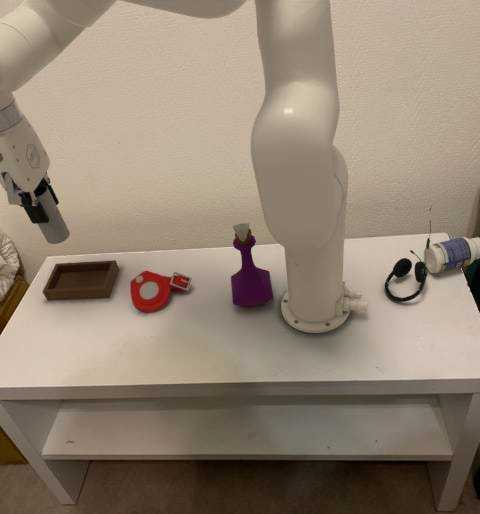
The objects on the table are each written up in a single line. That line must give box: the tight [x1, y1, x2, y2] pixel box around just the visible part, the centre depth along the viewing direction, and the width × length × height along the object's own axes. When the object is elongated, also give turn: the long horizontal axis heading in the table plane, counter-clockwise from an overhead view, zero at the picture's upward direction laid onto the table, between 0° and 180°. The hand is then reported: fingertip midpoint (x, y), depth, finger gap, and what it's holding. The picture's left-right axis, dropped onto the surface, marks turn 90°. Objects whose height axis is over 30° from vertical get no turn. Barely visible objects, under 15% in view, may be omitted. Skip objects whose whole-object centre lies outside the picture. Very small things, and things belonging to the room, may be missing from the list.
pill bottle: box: [423, 236, 480, 274], centre depth 89 cm, size 5×5×10 cm
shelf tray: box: [42, 259, 120, 301], centre depth 101 cm, size 14×9×3 cm, turn 86°
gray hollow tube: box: [22, 184, 71, 245], centre depth 88 cm, size 4×4×10 cm
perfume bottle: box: [230, 222, 274, 309], centre depth 86 cm, size 8×8×18 cm
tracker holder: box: [129, 270, 193, 313], centre depth 96 cm, size 12×4×10 cm
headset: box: [384, 205, 432, 303], centre depth 86 cm, size 7×7×20 cm
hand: (45, 212), depth 88 cm, fingers closed on gray hollow tube, 4 cm apart
